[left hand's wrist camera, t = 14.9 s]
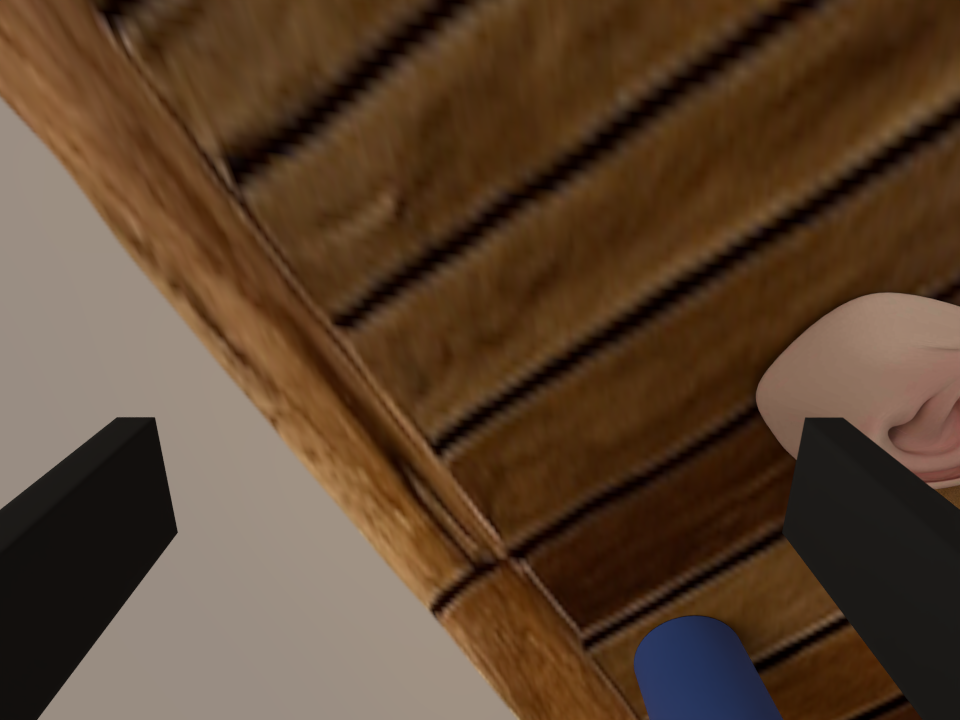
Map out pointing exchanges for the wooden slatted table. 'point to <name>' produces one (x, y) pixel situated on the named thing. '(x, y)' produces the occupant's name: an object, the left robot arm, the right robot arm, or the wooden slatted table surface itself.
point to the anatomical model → (876, 381)
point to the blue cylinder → (700, 674)
